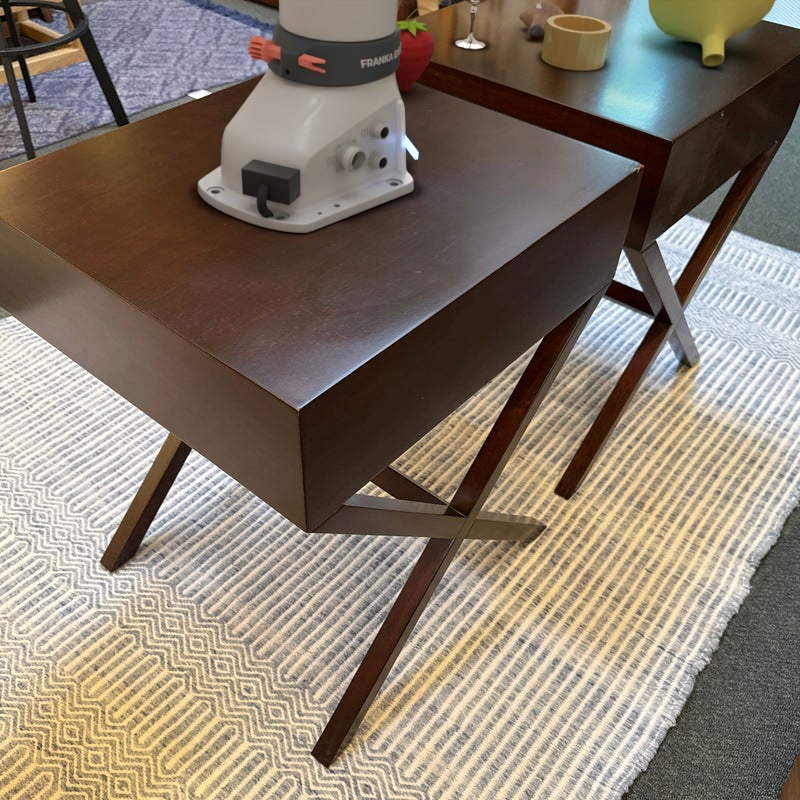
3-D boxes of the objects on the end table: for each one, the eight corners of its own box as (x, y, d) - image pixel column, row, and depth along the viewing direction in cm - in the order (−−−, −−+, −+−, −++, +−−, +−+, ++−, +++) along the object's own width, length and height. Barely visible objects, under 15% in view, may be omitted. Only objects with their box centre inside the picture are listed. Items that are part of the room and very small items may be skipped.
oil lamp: (502, 34, 132) (533, 49, 127) (503, 7, 129) (535, 22, 124) (547, 20, 135) (579, 35, 130) (549, -6, 132) (582, 8, 127)
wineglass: (466, 36, 127) (475, -53, 120) (497, 45, 124) (509, -45, 117) (442, 43, 124) (450, -48, 116) (474, 53, 121) (484, -39, 113)
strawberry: (439, 87, 109) (447, 5, 103) (413, 104, 104) (419, 19, 97) (399, 78, 111) (404, -4, 105) (371, 94, 106) (375, 9, 99)
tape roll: (588, 75, 116) (596, 37, 113) (530, 60, 120) (536, 23, 117) (613, 60, 122) (621, 23, 119) (557, 46, 126) (563, 10, 123)
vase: (726, -125, 113) (728, -3, 109) (806, -61, 123) (810, 54, 119) (623, -45, 129) (620, 65, 124) (700, 6, 138) (701, 110, 134)
